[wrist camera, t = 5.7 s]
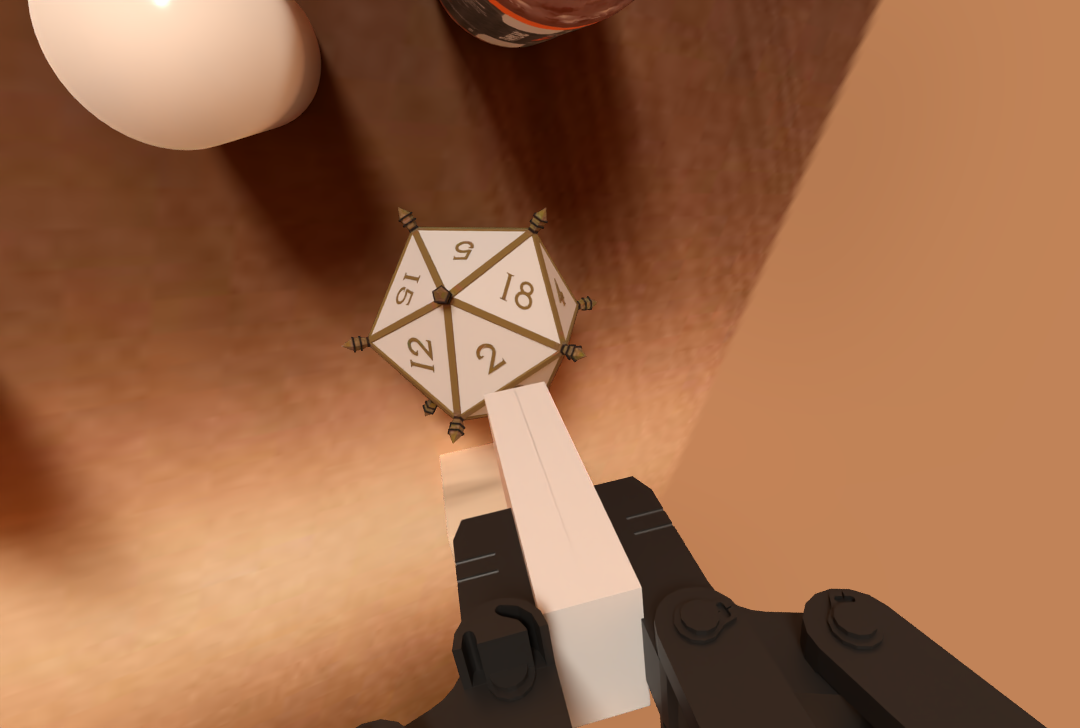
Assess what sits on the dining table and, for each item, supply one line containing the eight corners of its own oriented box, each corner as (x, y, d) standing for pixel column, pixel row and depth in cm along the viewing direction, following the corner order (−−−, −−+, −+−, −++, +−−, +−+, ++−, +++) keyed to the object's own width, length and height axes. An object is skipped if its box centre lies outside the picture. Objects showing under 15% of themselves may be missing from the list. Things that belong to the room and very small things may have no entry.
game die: (497, 247, 29) (680, 285, 23) (433, 409, 28) (602, 490, 22) (351, 148, 22) (562, 164, 16) (263, 362, 21) (445, 463, 15)
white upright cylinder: (338, 118, 22) (307, 132, 15) (198, 140, 21) (95, 166, 14) (295, -43, 20) (234, -118, 12) (137, -24, 19) (-23, -91, 12)
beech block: (569, 518, 32) (602, 602, 27) (462, 545, 31) (474, 637, 26) (556, 427, 30) (590, 501, 24) (439, 454, 29) (447, 536, 23)
